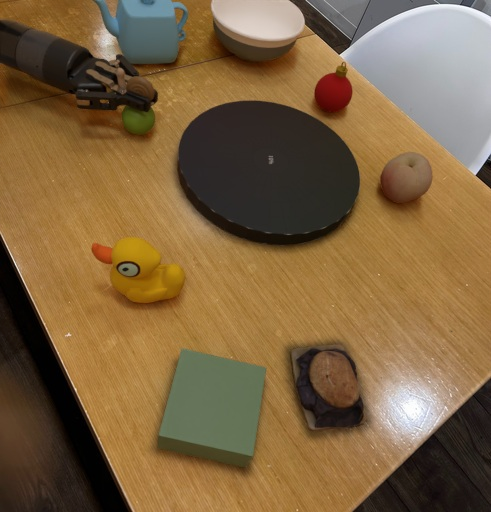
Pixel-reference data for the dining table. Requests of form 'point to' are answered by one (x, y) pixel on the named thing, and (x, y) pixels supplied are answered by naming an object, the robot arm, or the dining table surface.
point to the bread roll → (327, 387)
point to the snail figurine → (132, 117)
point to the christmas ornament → (334, 90)
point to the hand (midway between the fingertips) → (152, 101)
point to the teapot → (146, 29)
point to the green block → (213, 408)
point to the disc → (267, 172)
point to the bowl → (257, 27)
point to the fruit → (406, 177)
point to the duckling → (140, 270)
